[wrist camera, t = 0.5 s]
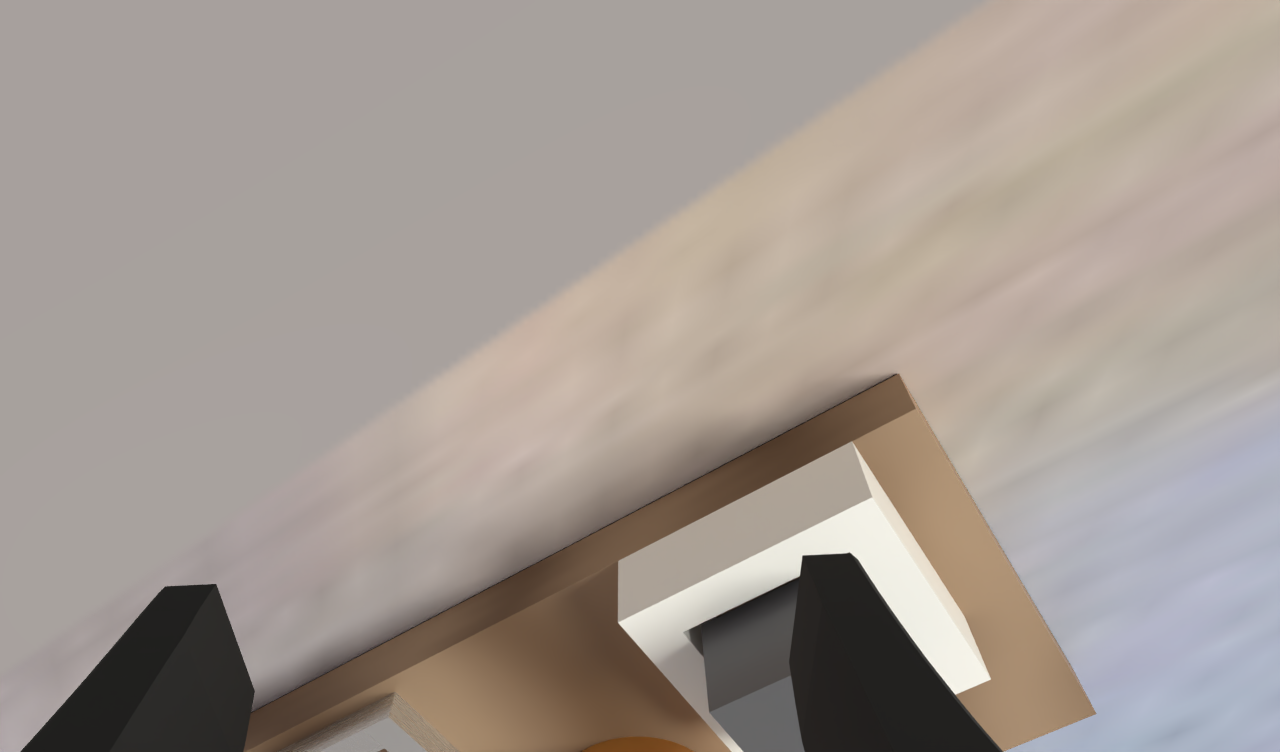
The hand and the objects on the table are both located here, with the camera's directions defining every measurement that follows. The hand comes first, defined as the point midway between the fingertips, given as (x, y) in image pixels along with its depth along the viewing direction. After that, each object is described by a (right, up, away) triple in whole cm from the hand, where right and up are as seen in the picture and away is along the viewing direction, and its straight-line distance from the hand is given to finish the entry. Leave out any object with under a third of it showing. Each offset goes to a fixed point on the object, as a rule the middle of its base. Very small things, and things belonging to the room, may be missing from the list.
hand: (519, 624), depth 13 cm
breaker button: (+5, -3, +9) cm, 11 cm away
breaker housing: (+5, -2, +11) cm, 12 cm away
